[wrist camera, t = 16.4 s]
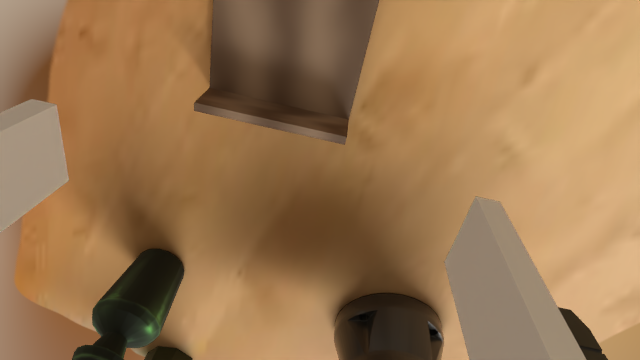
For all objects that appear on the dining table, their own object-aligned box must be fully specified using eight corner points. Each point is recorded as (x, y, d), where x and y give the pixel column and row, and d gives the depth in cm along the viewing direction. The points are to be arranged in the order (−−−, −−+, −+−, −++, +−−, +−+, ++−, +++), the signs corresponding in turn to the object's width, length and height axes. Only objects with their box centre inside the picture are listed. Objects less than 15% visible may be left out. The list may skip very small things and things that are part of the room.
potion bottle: (127, 270, 55) (37, 396, 40) (140, 233, 51) (45, 358, 36) (181, 293, 57) (113, 423, 42) (198, 259, 53) (130, 389, 38)
